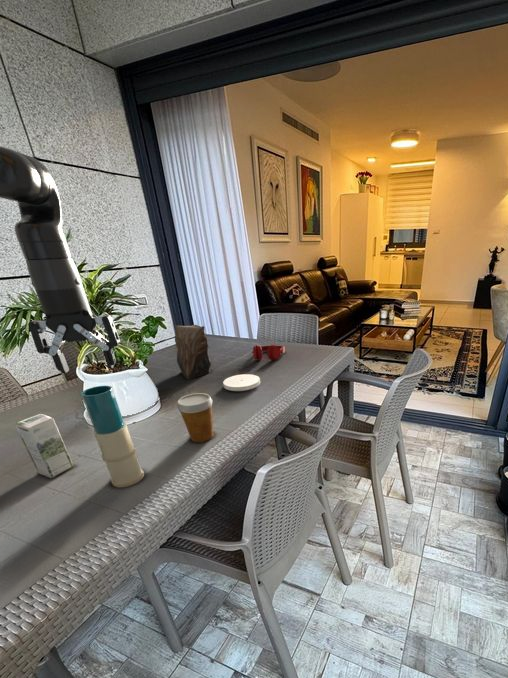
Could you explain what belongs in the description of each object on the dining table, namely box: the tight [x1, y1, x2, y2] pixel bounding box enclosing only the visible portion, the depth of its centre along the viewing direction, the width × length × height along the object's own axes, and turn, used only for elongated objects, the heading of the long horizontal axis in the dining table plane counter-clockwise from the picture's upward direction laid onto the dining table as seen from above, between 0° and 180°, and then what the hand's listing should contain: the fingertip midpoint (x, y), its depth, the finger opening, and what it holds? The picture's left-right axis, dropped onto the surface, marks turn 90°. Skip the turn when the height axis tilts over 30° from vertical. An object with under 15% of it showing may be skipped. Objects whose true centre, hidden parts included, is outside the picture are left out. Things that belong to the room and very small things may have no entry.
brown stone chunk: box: [174, 324, 212, 380], centre depth 149 cm, size 13×13×20 cm
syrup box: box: [14, 413, 74, 479], centre depth 86 cm, size 6×6×14 cm
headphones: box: [251, 344, 286, 361], centre depth 171 cm, size 15×7×20 cm
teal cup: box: [80, 385, 125, 434], centre depth 77 cm, size 6×6×9 cm
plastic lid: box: [222, 373, 261, 392], centre depth 136 cm, size 14×14×2 cm
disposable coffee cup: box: [176, 392, 214, 443], centre depth 100 cm, size 10×10×12 cm
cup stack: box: [93, 421, 145, 488], centre depth 82 cm, size 7×7×14 cm
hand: (88, 369), depth 73 cm, fingers open, 8 cm apart
